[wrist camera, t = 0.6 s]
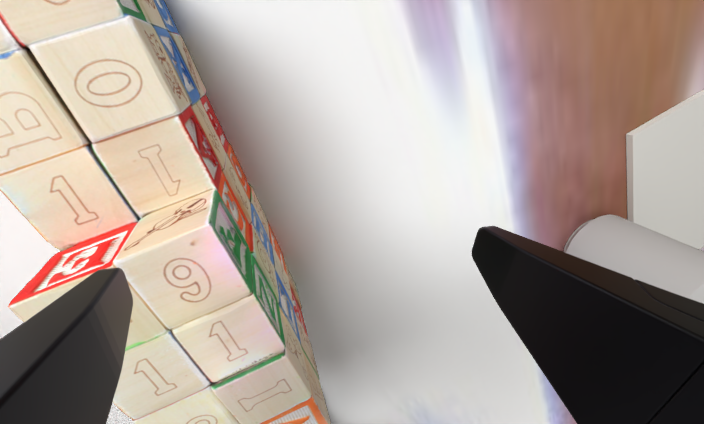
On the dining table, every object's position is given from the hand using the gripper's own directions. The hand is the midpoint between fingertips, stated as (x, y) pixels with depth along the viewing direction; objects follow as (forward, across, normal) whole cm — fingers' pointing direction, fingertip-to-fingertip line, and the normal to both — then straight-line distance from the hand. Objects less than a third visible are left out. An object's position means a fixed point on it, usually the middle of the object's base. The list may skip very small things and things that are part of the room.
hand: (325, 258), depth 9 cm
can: (+14, -30, +13) cm, 36 cm away
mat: (+14, -41, +8) cm, 44 cm away
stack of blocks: (+15, +5, +4) cm, 16 cm away
